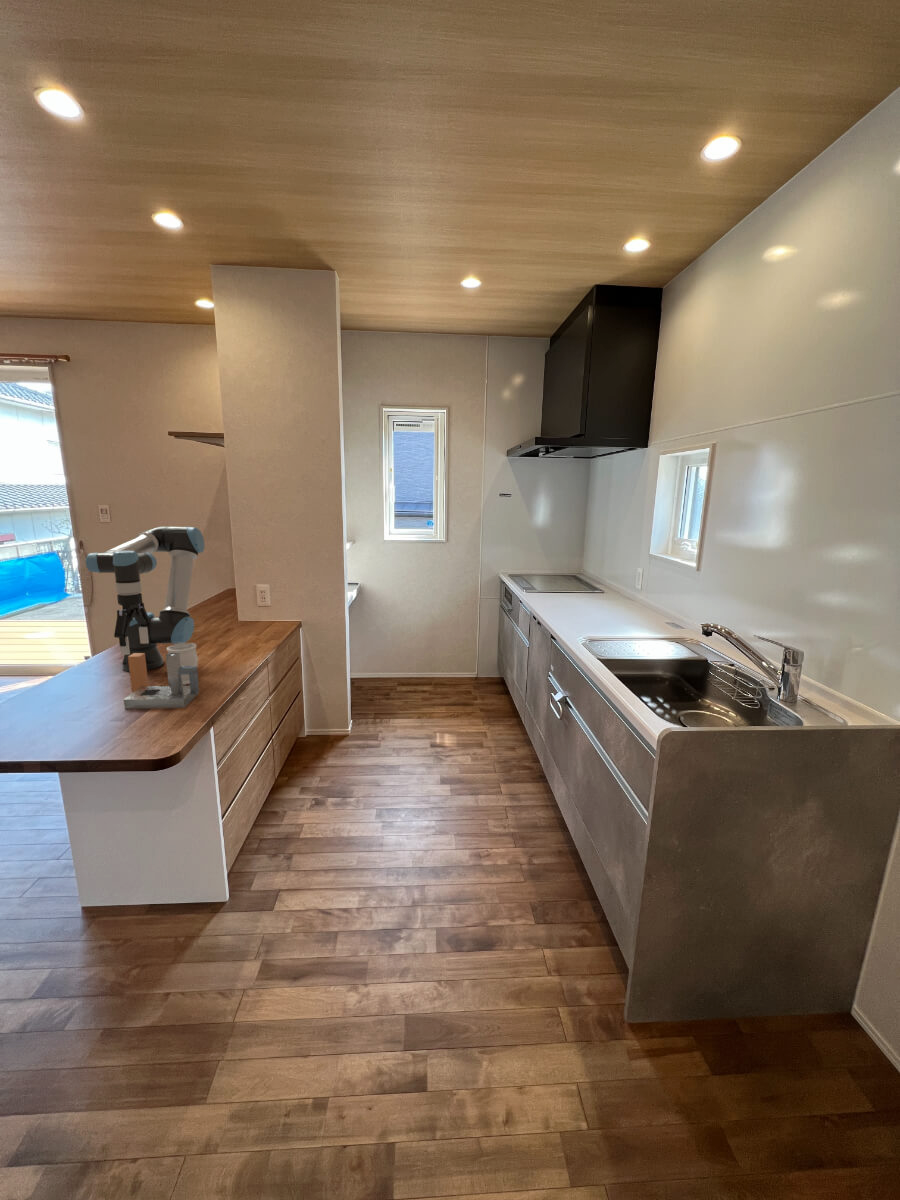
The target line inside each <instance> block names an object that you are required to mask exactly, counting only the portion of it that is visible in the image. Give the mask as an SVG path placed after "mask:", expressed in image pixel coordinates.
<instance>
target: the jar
mask: <svg viewBox="0 0 900 1200" xmlns="http://www.w3.org/2000/svg"><path fill="white" fill-rule="evenodd" d="M196 649H197V644H196V643H192V642H185V643H177V644H171V645H169V646H167V647H166V651H167V652H168V653H167V654H169V653H179V654H180V663H181V666H197V667H198V663H199V660H198V658H199V657H198V653H197V650H196ZM182 684H183V686H187V685H190V679H189V674H187V675H182Z"/></svg>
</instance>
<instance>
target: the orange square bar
mask: <svg viewBox="0 0 900 1200" xmlns="http://www.w3.org/2000/svg"><path fill="white" fill-rule="evenodd" d="M128 661H129V670H130V671H129V676H130V685H131V686H130V687H131V694H132V693H133V692H134V691H136V690H137V689H138V688H140V687H141V686H149V679H148V678H149V677H148V670H147V668H146V659H145V653H133V654H131V655H130V656H128Z"/></svg>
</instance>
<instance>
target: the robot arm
mask: <svg viewBox="0 0 900 1200" xmlns="http://www.w3.org/2000/svg"><path fill="white" fill-rule="evenodd" d="M204 551H205V539H204V536H203V533H202V532H201V530H200V529H199V528H198V527H192V526H167V525H165V526H164V525H163V526H157V527H154V528H151V529H147V530H145V531H142V532H140V533H138V534H137V535H136V537H135V538H133V539H130V540H128V541H125V542H124V543H122V544H119V545H116V546H114V547H112V548H111V549H108V550H106V551H104V552H90V553H88V554H87V556H85V567H86V569H87V570H88V571H89V572H91V573H99V574H104V573H105V574H114V578H115V587H116V588H115V589H116V594H117V595H116V598H117V604H118V605H120V606H121V609H117V610H116V621H115V629H114V635H113V637H114V638H118V641H119V650H120V651H119V652H120V655H123V659H122V663H121V667H122V668H121V669H122V671H123V670H124V671H126V672H130V670H129V661H128V656H130V655H131V654H133V653H145V659H146V668H147V671H151V670H154V669H157V668H159V667H161V666H163V665H164V659H163V656H162V654H161V652H160V650H159V648H158V644H172V645H175V644H180V643H188V641H190V639H191V638H192V636H193V633H194V631H195V624H194V623H195V620H194V618H192V616H191V613H190V612H189V611H188V603H189V597H190V596H189V595H190V589H191V580H192V573H193V566H194V561H195V560H196V559H198V556H199V554H201V553H203V552H204ZM155 552H157V553H159V552H161V553H162V552H163V553H168V555H169V556H170V557H171V561H170V568H169V569H170V570H169V576H168V583H167V590H166V596H165V603H164V608H163V609H161V610H160V611H159V616H155V614H154V612H150V611H149V612H147V610H146V608H145V603H144V602H143V595H142V593H141V592H142V584H141V576H140V575H141V574H144V573H145V574H146V573H149V572H151V571H153V570H155V569H156V567H157V565H158V564H157V563H158V561H157V558H156V557H155V556H154V554H153V553H155Z"/></svg>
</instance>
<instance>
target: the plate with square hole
mask: <svg viewBox="0 0 900 1200" xmlns="http://www.w3.org/2000/svg"><path fill="white" fill-rule="evenodd" d="M165 661H166V663H165V664H166V672H167V682H168V685H150V686H149V685H148V686H141V687H140V688H138V689H137V690H136V691H134V692H133V693H132V692H131V694H128V696H126V697H125V698H124V699H123V705H124V709H125V710H127V709H128V710H131V709H133V710H134V709H137V710H138V709H143V710H144V709H178V708H179V709H183V708H184V709H185V708H186V707H187V706H188V705H189V704H190V703H191V701H193V700H194V699H195V697H197V695H199V692H200V687H199V674H198V665H197V666H181V663H180V654H179V653H169V654H168V653H167V654H165ZM187 674H189V679H190V684H189V685H183V684H182V675H187Z"/></svg>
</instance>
